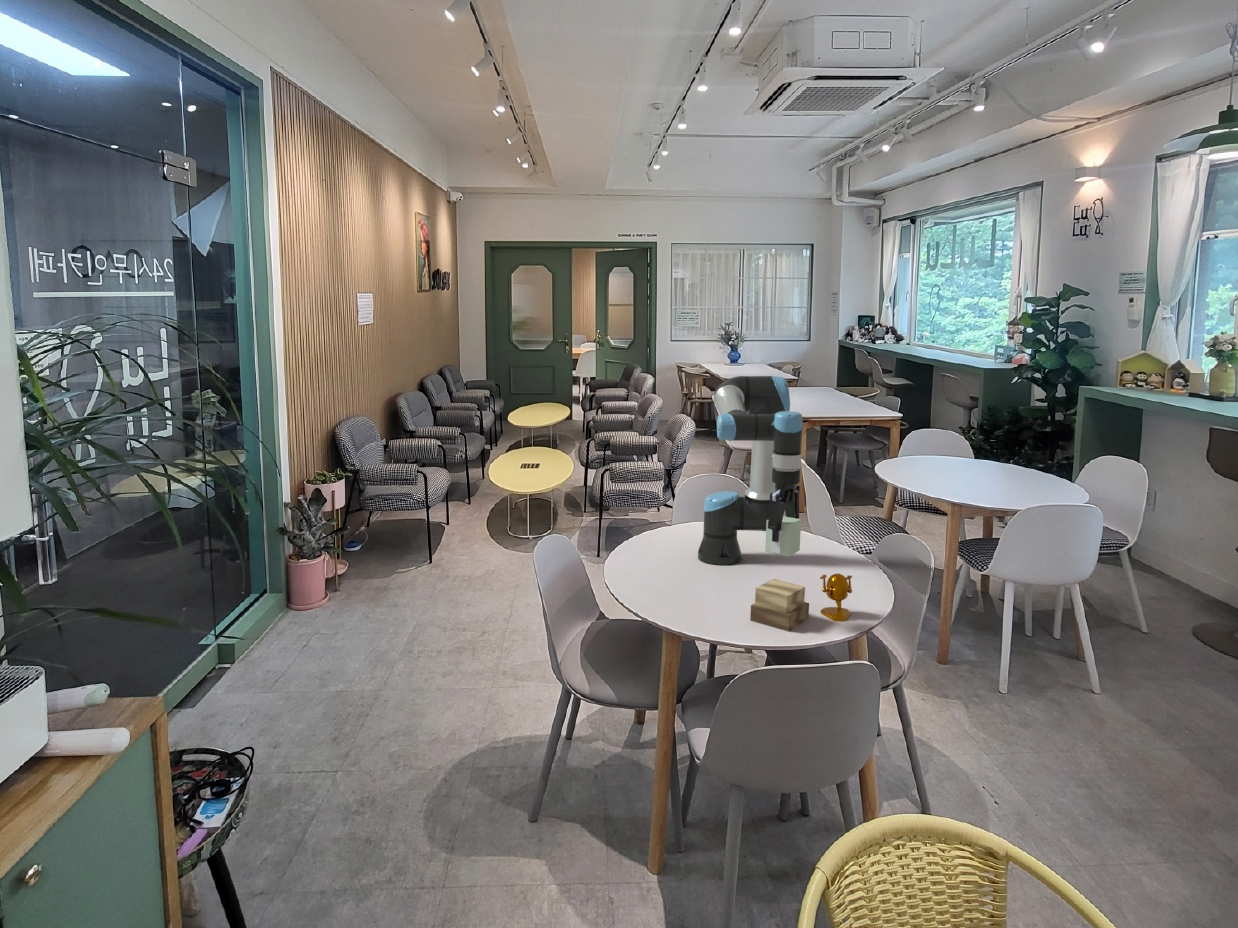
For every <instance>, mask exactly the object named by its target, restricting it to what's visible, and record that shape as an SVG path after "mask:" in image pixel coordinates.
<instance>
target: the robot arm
mask: <svg viewBox="0 0 1238 928" xmlns="http://www.w3.org/2000/svg"><path fill="white" fill-rule="evenodd" d="M790 397H791V396H790V388H789V384H788V381H787V379H786V378H785V377H783V376H773V375H754V376H753V375H747V376H745V375H740V376H739V375H738V376H733V377H731V378H728V379H726V380H725V381H723V382H722V383H721V384H719V385H718V387H717V388H716V390H715V391H714V395H713V401H714V405H715V407H716V409H717V410H718V411H719V413H720V414H719V415H717V419H716V420H717V421H716V435H717V439H719V440H721V441H728V442H732V441H733V442H736V441H739V442H740V441H744V442H745V441H746V442H747V441H751V455H750V476H749V477H750V478H749V487H748V488H747V489H746V490H745V492H744V496H740V495H739V493H738V492H737V491H730V490H729V491H727V490H726V491H725V490H724V491H718V492H717V491H716V492H713V493H711V494H708V495H707V496H705V499H704V503H703V504H704V506H703V532H702V533H703V535H702V536H703V537H702V538H701V539H702V540H701V542H700V545H699V547H698V551H697V558H698V560H699V561H701V562H703V563H705V564H708V565H709V564H710V565H716V566H725V565H734V564H737V563H739V562H741V561H742V551H741V550H742V549H741V547H740V544H739V539H738V531H754V532H755V531H756V532H757V531H759V532H766V523H767V520H768V529H772V542H771V552H775V553H779V554H780V553H781V546H782V530H780V529H781V525H782V520H783V516H786V517H791V518H796V519H800V490H801V487H800V485H798V484H799V483H800V481H801V470H800V469H801V467H802V442H803V441H802V438H803V436H802V435H803V428H804V424H803V414H802V413H800V412H796V411H791V409H790V408H791V398H790ZM779 554H778V555H779Z"/></svg>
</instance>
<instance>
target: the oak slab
mask: <svg viewBox="0 0 1238 928" xmlns="http://www.w3.org/2000/svg"><path fill="white" fill-rule="evenodd" d="M805 594H806V587H805V586H803V585H800V584H796V583H792V582H787V581H784V580H780V579H777V578H773V579H771V580H769V581H767V582H765V583H762V584H761V585H759V586H756V587H755V597H754V603H755V605H759V606H762V607H766V608H769V609H773V610H776V611H780V612H783V613H788V612H790V611H792V610H793V609H795V608H797V607H799V606H801V605H802V604H804V602H805Z"/></svg>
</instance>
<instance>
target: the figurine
mask: <svg viewBox="0 0 1238 928" xmlns="http://www.w3.org/2000/svg"><path fill="white" fill-rule="evenodd" d="M852 577H853V576H852V575H849V574H848V575H847V576H845V575H844V574H841V573H833V574H832V575H830V576H829V578H828V579H827V574H822V575H821V576H819V578H820V580H822V581H823V582H822V589H821V591H822V593H824V594H826V596H827V597H828V599H830V600H831V601H835V604H836V606H837V607H836V606H827V607H823V608H822V609H820V614H822V615H823V616H825V617H826V618H828V619H829V620H832V621H833V622H846V621H847V620H848V619H849V618H850V617H851V615H852V614H851V613H852V611H850V610H849V609H847V608H845V607H842V601H844V600H846V599H847V598H848V595H849V594H852V593H853V590H852V581H851V579H852ZM826 579H827V581H826Z"/></svg>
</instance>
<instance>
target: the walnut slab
mask: <svg viewBox="0 0 1238 928" xmlns="http://www.w3.org/2000/svg"><path fill="white" fill-rule="evenodd" d="M809 615H810V603H809V602H806V601H804V604H802V605H801V606H799V607H797V608H795V609H793V610H792V611H790V612H788V613H783V612H780V611H776V610H773V609H769V608H766V607H762V606H759V605H755V602H754V603H752V604H751V605H750V616H749V617H750V618H749V619H750V622H753V623H757V624H761V625H764V626H768V627H771V628H775V629H778V630H781V631H784V632H791V631H792V630H794V629H795V628H797V627H798V626H799V625H801V624H802V623H804V622H806V621H807V620H808V619H809Z"/></svg>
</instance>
